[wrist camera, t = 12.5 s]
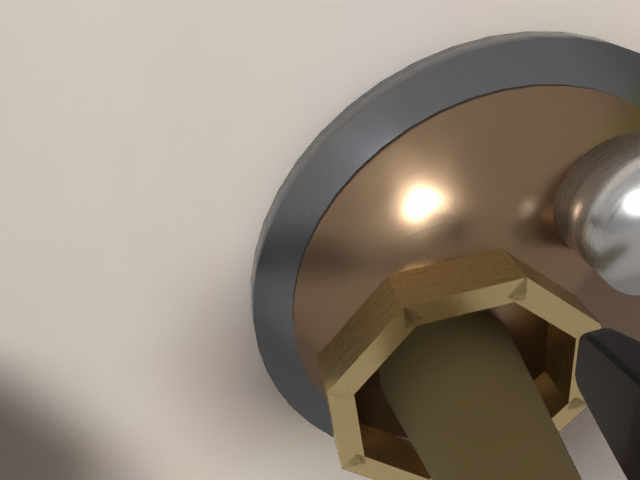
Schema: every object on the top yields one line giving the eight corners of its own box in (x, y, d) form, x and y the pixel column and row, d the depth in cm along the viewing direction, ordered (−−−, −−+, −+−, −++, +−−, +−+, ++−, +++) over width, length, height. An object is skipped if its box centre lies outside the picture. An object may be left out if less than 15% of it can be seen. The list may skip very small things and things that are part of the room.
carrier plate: (297, 480, 29) (312, 564, 26) (191, 97, 18) (190, 147, 15) (664, 384, 31) (727, 450, 27) (763, -20, 20) (890, -1, 16)
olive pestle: (491, 412, 27) (646, 682, 18) (368, 419, 26) (466, 715, 17) (530, 309, 24) (740, 568, 15) (393, 311, 23) (530, 597, 14)
